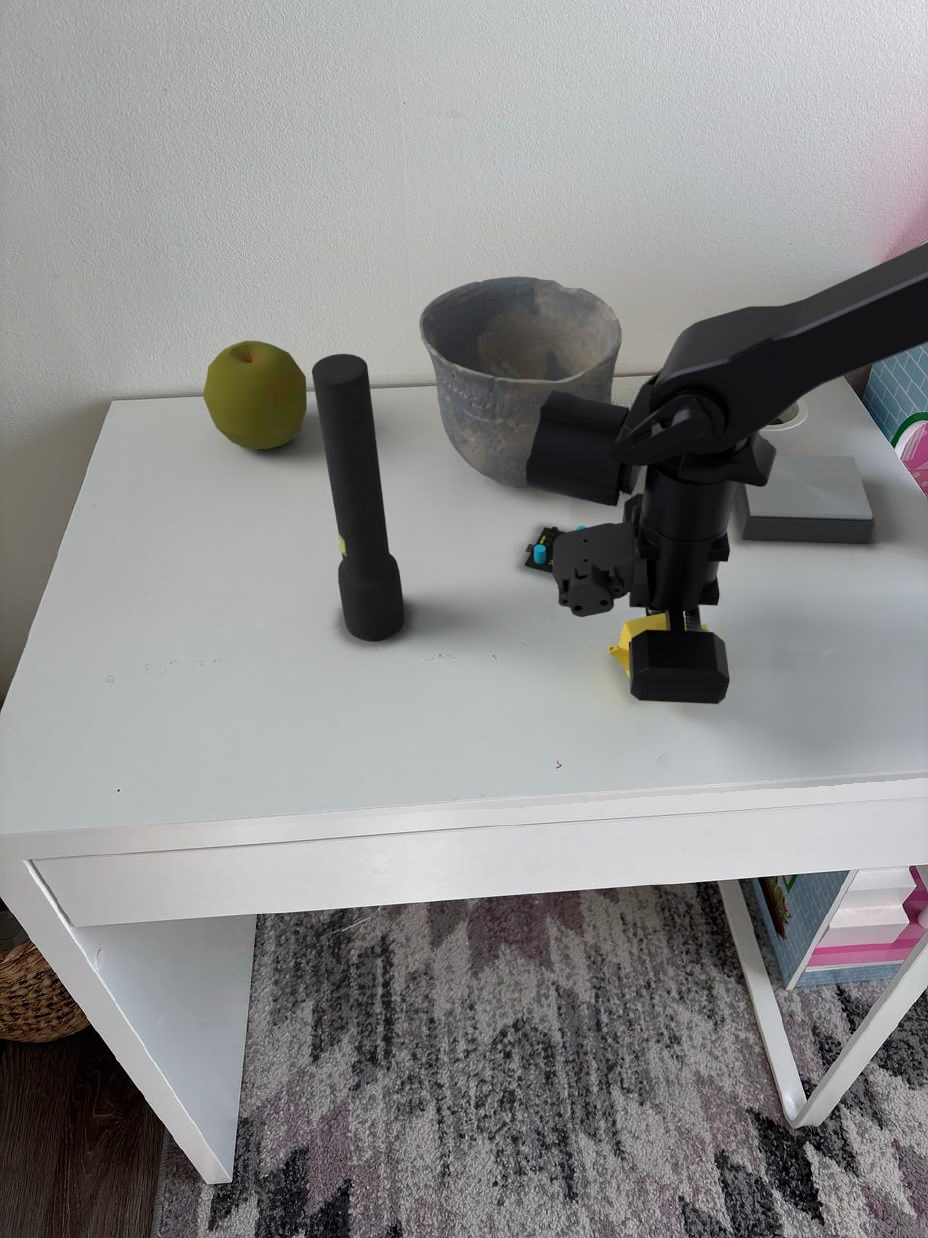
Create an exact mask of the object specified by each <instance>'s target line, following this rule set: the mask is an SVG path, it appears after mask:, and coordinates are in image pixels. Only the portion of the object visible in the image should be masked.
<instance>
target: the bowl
mask: <svg viewBox="0 0 928 1238" xmlns="http://www.w3.org/2000/svg"><path fill="white" fill-rule="evenodd" d="M620 323H621V322H620V321H619V318H618V317H617V315H616V314H615V312H614V310H613V308H612V307H611V306H609V305H608V303H606V302H605V301H604V300H603V299H602V298H601V297H599V296H597V294H594V293H593V292H590V291H588V290H586V289H584V288H582V287H576V288H574V287H567V286H563V285H562V284H560V283H559V282H557V281H556V280H553V279H542V278H538V277H530V276H517V275H516V276H507V277H506V276H505V277H497V278H489V279H484V280H482V281H473V282H469V283H465V284H463V285H460V286H457V287H455V288H453V289H450V290H449V291H446V292H444V293H441V294H440V295H439V296H437V297H435V298H434V299H432V300H431V301H430V302H429V303H428V304H427V305H426V306H425V307H424V309H423V311H422V312H421V314H420V316H419V321H418V324H419V327H418V328H419V334H420V335H419V336H420V339H421V342H423V344H424V346H425V348H426V351H427V352H428V354H429V357H430V360H431V363H432V366H433V370H434V374H435V379H436V391H437V401H438V402H437V403H438V406H439V415H440V418H441V422H442V426H443V428H444V431H445V433H446V435H447V437H448V440H449V441H450V443H451V445H452V447H453V449H455V451H456V453H458V454H459V455H460V457H461V458H462V459H463V460H464V461H465V462H466V463H467V464H468V465H469V466H470V467H471V468H473V469H474V470H475V471H477V472H478V473H480V474H481V475H483V476H484V477H487V478H489V479H491V480H492V481H495V482H497V483H499V484H501V485H505V486H508V487H514V488H518V489H530V488H529V486H528V485H527V480H526V463H527V460H528V458H529V456H530V455H531V450H532V445H533V440H534V437H535V433H536V430H537V427H538V424H539V421H540V407H541V405H542V404H543V402H544V400H545V399H546V397H547V395H548V394H549V392H550V391H552V390H556V391H561V392H566V393H570V394H572V395H575V396H577V397H579V398H583V399H588V400H593V401H598V402H603V403H608V404H613V402H612V401H613V399H612V392H613V391H612V390H613V389H612V388H613V381H614V375H615V369H616V364H617V360H618V356H619V352H620V349H621V346H622V341H623V340H622V337H623V336H622V335H623V332H622V327H621V324H620Z"/></svg>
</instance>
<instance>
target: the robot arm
mask: <svg viewBox="0 0 928 1238" xmlns="http://www.w3.org/2000/svg"><path fill="white" fill-rule="evenodd" d="M925 344H928V242H925V243H923V244H921V245H919V246H917V247H914V248H912V249H910V250H907V251H906V252H903V253H901V254H899V255H897V256H894V257H893V258H890V259H888V260H886V261H884V262H882V263H880V264H878V265H875V266H873V267H871V268H869V269H866V270H865V271H863V272H860V273H858V274H856V275H853V276H851V277H849V278H847V279H845V280H843V281H840V282H838V283H836V284H834V285H832V286H830V287H828V288H826V289H823V290H821V291H819V292H817V293H814V294H812V295H811V296H808V297H806V298H804V299H800V300H796V301H794V302H790V303H786V304H783V305H757V306H756V305H755V306H754V305H751V306H746V307H743V308H738V309H736V310H732V311H729V312H725V313H722V314H718V315H715V316H711V317H708V318H704V319H701V320H699V321H696V322H694V323H692V324H691V325H689V326H688V327H687V328H685V329H684V330H682V331H681V333H680V334H679V335H678V337H676V339H675V342H674V343H673V345H672V347H671V349H670V351H669V353H668V355H667V358H666V359H665V362H664V364H663V366H662V368H660V369H659V370H658V371H657V372H656V373H654V374H653V375H652V376H651V377H649V378H648V380H646V381H645V382H644V383H643V384H642V385H640V388H639V390H638V392H637V394H636V397H635V398H634V400H633V402H632V404H631V406H630V407H629V406H628V407H627V406H623V405H618V404H613V403H612V404H608V403H603V402H598V401H593V400H588V399H583V398H579V397H577V396H575V395H572V394H570V393H566V392H561V391H556V390H552V391H550V392H549V394H548V395H547V397H546V399H545V400H544V402H543V404H542V405H541V407H540V421H539V424H538V427H537V430H536V433H535V437H534V440H533V445H532V450H531V455H530V456H529V458H528V460H527V463H526V480H527V485H528V486H529V488H528V489H532V490H533V489H534V490H538V491H541V492H542V491H543V492H547V493H551V494H556V495H560V496H563V497H564V496H565V497H568V498H572V499H577V500H581V501H587V502H591V503H595V504H600V505H604V506H609V507H617V506H618V503H619V501H620V496H621V493H622V494H623V495H629V496H630V495H632V494H633V492H634V490H635V488H636V485H637V482H638V480H639V477H640V473H641V469H642V467H646V470H645V480H644V486H643V493H639V492H638V493H636V494H635V495H633V496H632V497H630V498H628V499H627V500H626V501H624V503H623V512H622V513H623V514H622V522H618V523H614V522H604V523H601V524H596V525H592V526H586V527H587V528H583V529H579V530H576V529H575V530H571V531H565V532H566V533H563V534H561V535H560V536H558V537H557V538H556V539H555V541H554V543H553V570H552V572H553V573H552V576H553V578H554V580H555V583H556V585H557V589H558V604H559V605H560V607H563V608H566V607H567V608H568V609H570V612H571V614H572V615H573V616H575V617H578V618H586V617H590V616H594V615H601V614H604V613H609V612H611V611H612V610H613V609H614V607H615V600H618V599H621V598H623V597H625V596H626V595H628V594H629V596H628V605H629V606H628V607H629V608H638V609H639V608H640V609H641V608H642V609H645V617H647V616H651V615H657V614H663V613H665V618H666V629H667V630H649V629H646V630H645V631H643V632H641V633H639V634H638V635H636V636H634V637H632V638H631V642H629V670H630V679H629V687H630V688H629V690H630V692H629V693H630V695H631V696H633V697H634V698H635V699H637V700H638V701H640V702H641V701H642V702H659V703H661V702H663V703H680V704H681V703H682V704H683V703H684V704H705V705H706V704H707V705H718V704H720V703H721V702H722V701H723V700H725V699H726V697H727V692H728V689H729V686H730V682H731V677H730V669H729V664H728V657H727V656H728V655H727V649H726V642H725V641H724V639H722V638H721V637H720V636H718V635H717V633H715V632H714V631H710V630H709V631H707V630H705V629H703V628H702V627H701V624H702V621H701V611H700V610H701V609H700V606H714V607H715V606H716V607H717V606H718V604H719V600H720V596H721V592H720V586H719V580H718V572H719V567H720V563H722V562H723V563H728V562H729V557H730V554H731V547H730V541H729V533H728V526H729V522H730V517H731V512H732V508H733V504H734V501H735V497H734V495H735V491H736V486H737V482H739V483H743V484H748V485H753V486H757V487H764V486H765V485H767V483H768V480H769V476H770V473H771V470H772V466H773V463H774V460H775V456H776V455H777V454H778V453H777V452H778V451H777V448H776V447H775V446H774V445H773V444H772V443H771V442H770V441H769V440H767V438H764V437H763V436H762V435H761V434H760V431H761V430H763V429H764V428H766V427H768V426H769V425H770V424H772V423H773V422H774V421H775V420H776V419H777V418H779V417H780V416H781V415H782V414H784V413H785V412H786V411H787V410H788V409H789V408H791V407H792V406H793V405H794V404H795V403H797V402H798V401H799V400H800V399H802V398H803V397H805V395H807V394H808V393H811V392H812V391H814V390H816V389H818V387H820V386H822V385H824V384H826V383H830V382H832V381H835V380H836V379H840V378H841V377H844V376H847V375H849V374H852V373H854V372H856V371H859V370H862V369H865V368H867V367H870V366H872V365H875V364H877V363H880V362H883V361H884V360H887V359H890V358H892V357H895V356H898V355H900V354H902V353H905V352H907V351H910V350H913V349H915V348H918V347H920V346H923V345H925ZM684 619H685V620H686V622H685V621H684ZM685 624H686V628H687V629H686V631H685Z"/></svg>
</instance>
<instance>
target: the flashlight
mask: <svg viewBox="0 0 928 1238" xmlns="http://www.w3.org/2000/svg"><path fill="white" fill-rule="evenodd" d="M311 375H312V383H313V388H314V393H315V399H316V405H317V411H318V412H317V413H318V417H319V424H320V430H321V437H322V442H323V448H324V449H323V450H324V455H325V460H326V467H327V473H328V478H329V485H330V490H331V496H332V503H333V509H334V514H335V521H336V526H337V531H338V532H337V533H338V534H337V535H338V542H339V543H338V549H339V551H340V552H341V557H342V560H341V561H340V563H339V565H338V569H337V582H338V588H339V595H340V601H341V607H342V612H343V613H342V614H343V618H344V619H343V620H344V624H345V627H346V629H347V630H348V632H349V633H350V634H351V635H352V636H354V637H355V638H357V639H360V640H363V641H369V642H374V641H375V642H376V641H382V640H386V639H388V638H390V637H392V636H393V635H396V634H397V633H398V632H399V631H400V630H401V628H402V627H403V626H404V623H405V620H406V614H405V606H404V596H403V587H402V580H401V572H400V568H399V564H398V561H397V559H396V557H394V556H393V555H392V554H391V552H390V547H389V539H388V531H387V530H388V529H387V520H386V514H385V513H386V512H385V504H384V495H383V487H382V479H381V470H380V461H379V453H378V445H377V435H376V427H375V418H374V409H373V403H372V395H371V393H372V392H371V386H370V385H371V384H370V375H369V367H368V363H367V361H365V359H364V358H362V357H361V356H358V355H355V354H351V353H336V354H331V355H327V356H325V357H323V358H321V359H319V360H318V361H317V362H315V364H313V367H312V369H311Z"/></svg>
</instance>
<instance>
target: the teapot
mask: <svg viewBox="0 0 928 1238" xmlns="http://www.w3.org/2000/svg"><path fill="white" fill-rule="evenodd" d="M684 621H685V622H686V620H685V618H684ZM701 627H702V628H703V629H705V630H707V631H709V632H710V630H709V628H708V627H707V624H706V623H701ZM646 629H649V630H667V629H666V618H665V613H663V614H657V615H651V616H647V617H646V616H642V617H638V618H634V619H630V620H627V621H625V622H624V623H623V627H622V629H621V632H620V636H619V640H618V645H617V644H613V645H609V646H607V650H608V653H609V654H610V656H612V657H613V658H614V659H615V660H616V661H617V662H618V663H619V664H620V665H621V666H622V667H623V669H624V671H625V673H626V675H627V677H628V679H629V680H630V670H629V642H631V638H632V637H634V636H636V635H638V634H639V633H641V632H643V631H645V630H646ZM686 629H687V628H686V624H685V631H686Z"/></svg>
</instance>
